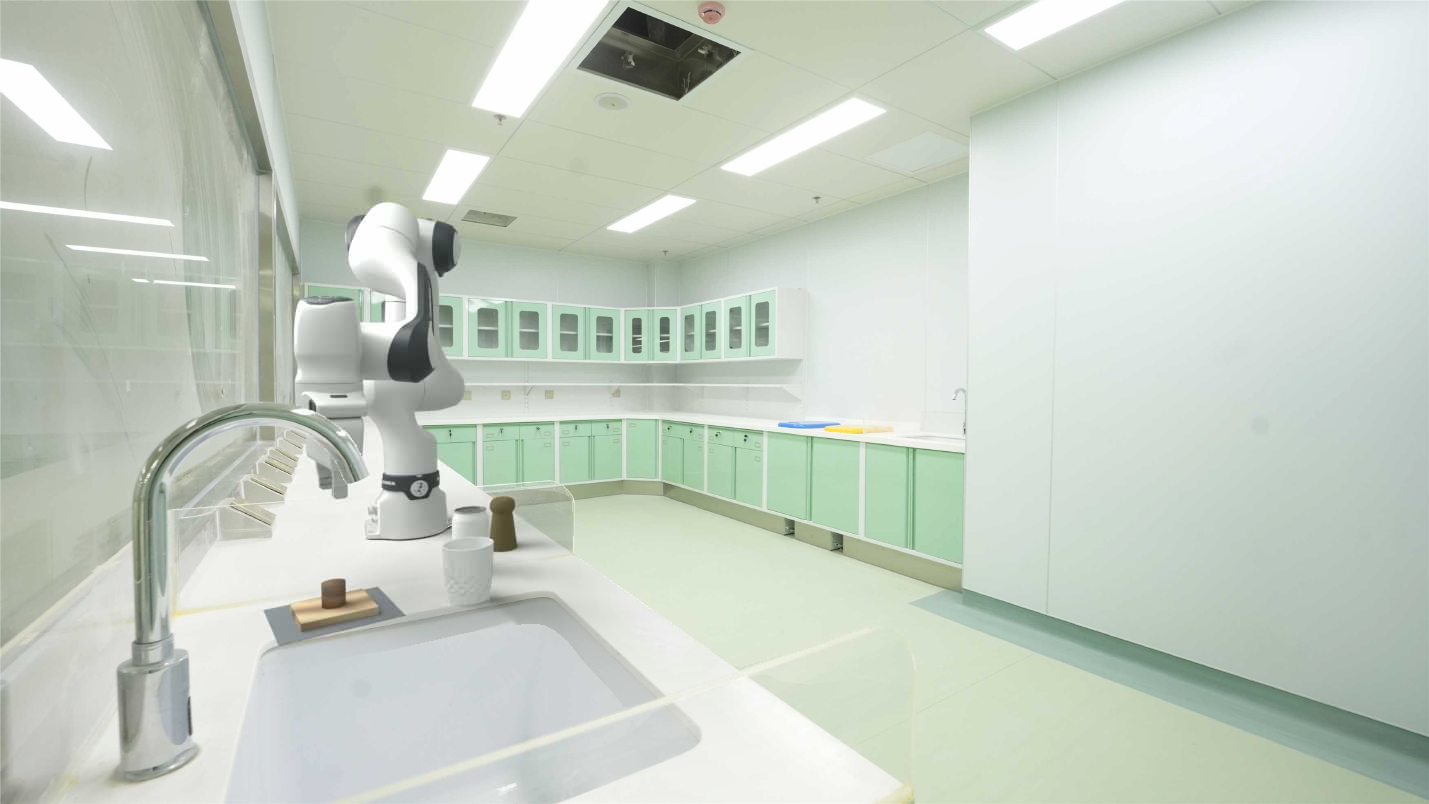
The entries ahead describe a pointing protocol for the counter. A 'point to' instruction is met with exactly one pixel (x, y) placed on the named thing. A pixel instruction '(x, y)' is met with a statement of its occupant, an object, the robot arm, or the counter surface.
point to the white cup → (468, 570)
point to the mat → (290, 632)
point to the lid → (333, 606)
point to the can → (470, 522)
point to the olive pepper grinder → (503, 524)
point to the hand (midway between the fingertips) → (332, 493)
